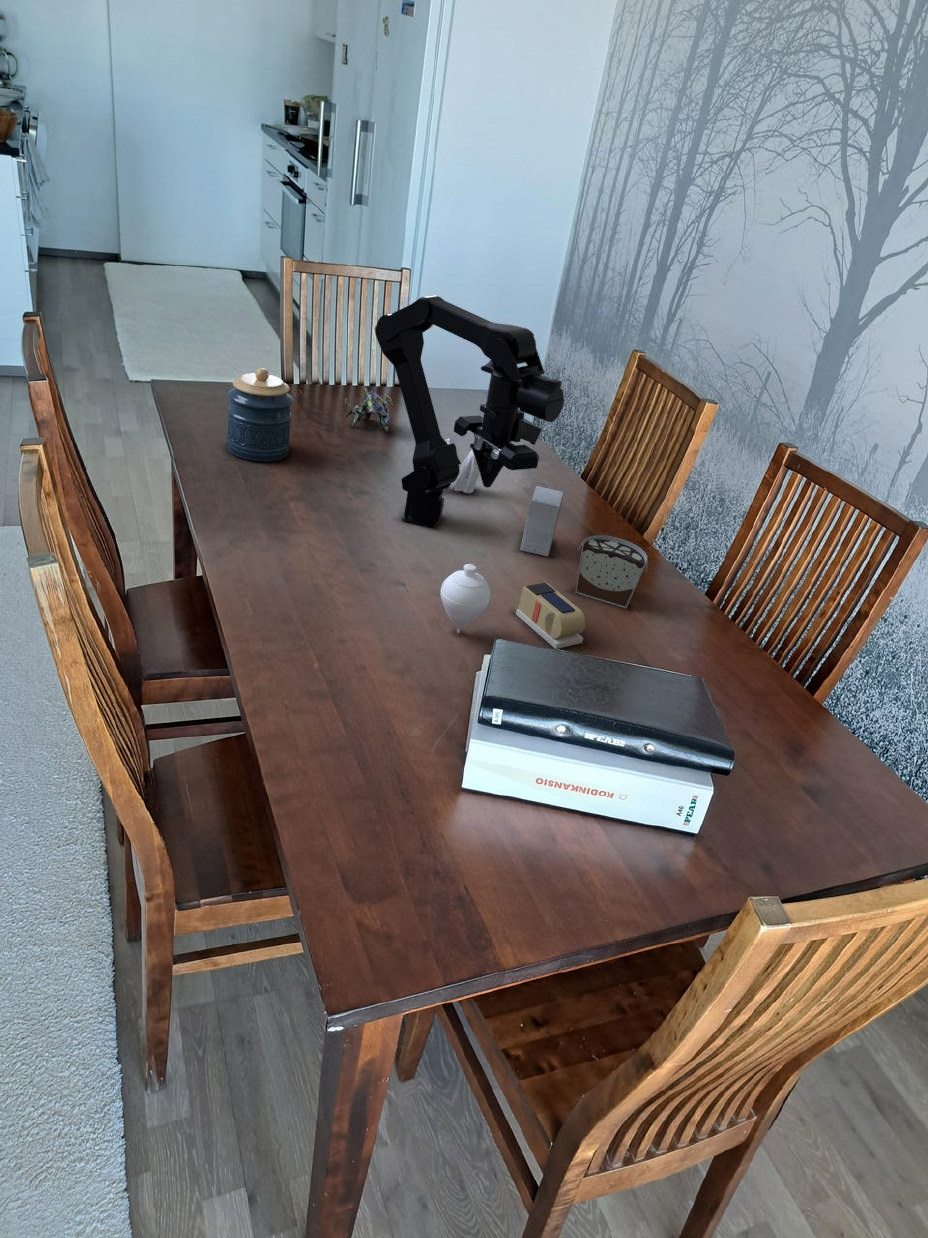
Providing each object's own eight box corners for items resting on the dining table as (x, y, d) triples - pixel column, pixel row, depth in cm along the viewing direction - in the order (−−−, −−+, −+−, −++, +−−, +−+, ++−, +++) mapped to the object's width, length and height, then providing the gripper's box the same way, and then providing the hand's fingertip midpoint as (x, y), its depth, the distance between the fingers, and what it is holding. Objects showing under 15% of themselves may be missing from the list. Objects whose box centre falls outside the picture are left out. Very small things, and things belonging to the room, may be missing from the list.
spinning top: (447, 649, 137) (459, 581, 131) (425, 623, 143) (436, 556, 137) (490, 642, 141) (504, 576, 135) (468, 617, 146) (480, 552, 140)
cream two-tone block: (521, 585, 147) (563, 619, 140) (548, 580, 150) (590, 614, 143) (515, 614, 150) (555, 649, 143) (541, 608, 153) (582, 643, 146)
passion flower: (381, 451, 217) (400, 424, 207) (337, 441, 212) (355, 412, 202) (380, 413, 221) (399, 384, 212) (338, 402, 217) (355, 372, 207)
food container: (640, 596, 163) (655, 547, 158) (634, 611, 158) (650, 561, 153) (574, 576, 165) (587, 527, 160) (567, 590, 160) (580, 540, 155)
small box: (548, 557, 170) (560, 507, 165) (519, 550, 171) (530, 500, 165) (552, 540, 177) (564, 491, 172) (525, 534, 178) (536, 484, 172)
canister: (301, 454, 193) (308, 372, 184) (259, 468, 183) (263, 382, 174) (256, 434, 198) (260, 354, 189) (212, 447, 188) (215, 363, 179)
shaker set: (422, 492, 187) (430, 441, 181) (418, 483, 190) (426, 433, 184) (478, 495, 190) (487, 445, 185) (473, 486, 194) (482, 438, 188)
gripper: (571, 420, 154) (552, 504, 161) (509, 384, 166) (494, 463, 174) (519, 423, 148) (502, 510, 156) (459, 385, 160) (445, 467, 168)
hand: (486, 486), depth 163 cm, fingers closed
